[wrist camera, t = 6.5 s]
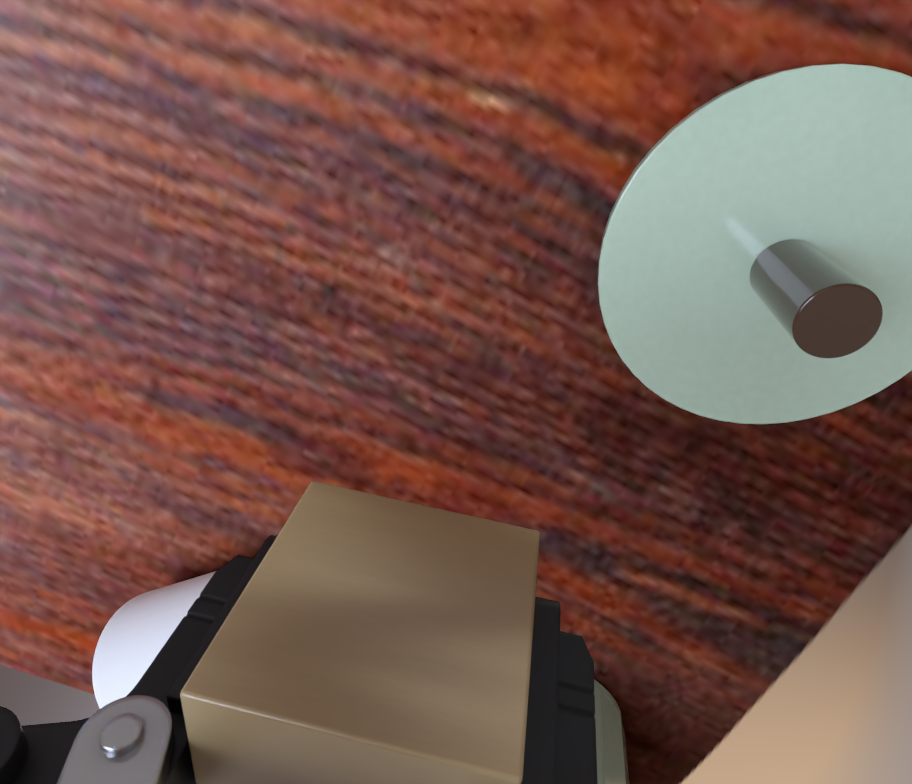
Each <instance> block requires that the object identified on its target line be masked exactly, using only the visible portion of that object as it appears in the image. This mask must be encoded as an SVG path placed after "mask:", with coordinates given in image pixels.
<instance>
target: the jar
mask: <svg viewBox="0 0 912 784" xmlns="http://www.w3.org/2000/svg"><path fill="white" fill-rule="evenodd" d="M594 695H595V716H594V717H595V723H596V753H597V783H598V784H629V777H628V765H627V753H626V741H625V733H624V728H623V721H622V715H621V712H620V708H619V707H618V705H617V703H616V701H615V699H614V698H613V697H612V695H611V694H610V693H609V692H608V691H607V690H606V689H605V688H604V687H603V686H602V685H601V684H600V683H599V682H597V681H596V680H595V679H594Z"/></svg>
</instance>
